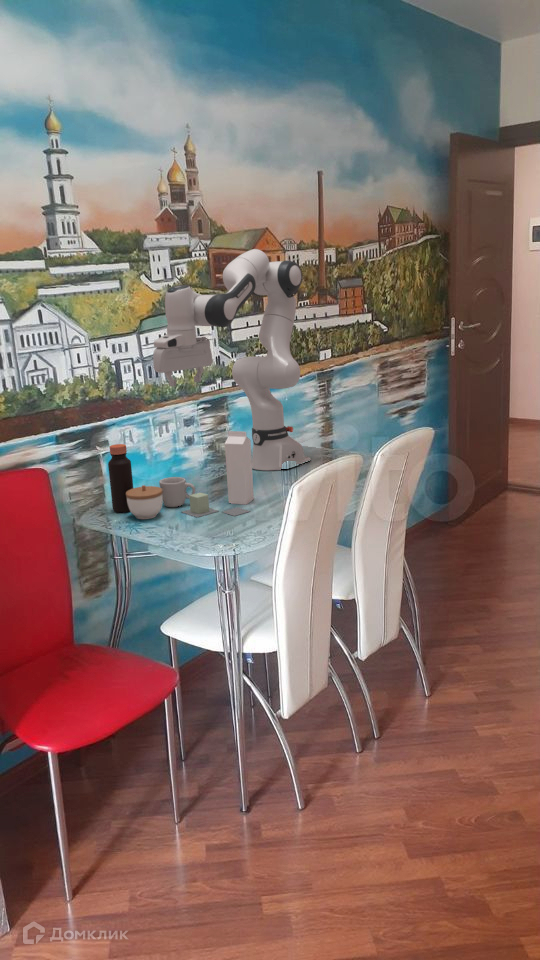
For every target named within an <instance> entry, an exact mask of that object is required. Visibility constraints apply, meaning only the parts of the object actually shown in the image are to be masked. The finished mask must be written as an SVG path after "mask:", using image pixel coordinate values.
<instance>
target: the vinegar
mask: <svg viewBox="0 0 540 960" xmlns="http://www.w3.org/2000/svg"><path fill="white" fill-rule="evenodd" d="M109 453H110V456H111V458H110V459H109V461H108V463H107V465H108V476H109V486H110V494H111V495H110V497H111V505H112V511H113V512H115V513H121V514H122V513H129V512H131V511H130V510H129V507H128V504H127V497H126V492H127V491H128V490H130V489H133V488H134V481H133V472H132V471H133V470H132V462H131V459H129V458H128V457H127V445H126V444H124V443H116V444H112V445H110V446H109Z"/></svg>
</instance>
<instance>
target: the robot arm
mask: <svg viewBox="0 0 540 960" xmlns="http://www.w3.org/2000/svg"><path fill="white" fill-rule="evenodd" d="M302 280H303V272H302V269H301V268H300V266H299V264H298V263H297V262H295V261H293V260H283V261H281V260H280V261H279V260H277V261H270V259H269V257H268V255H267V254H266V253H265V252H264V251H262V250H260V249H257V248H253V249H249V250H247V251H245V252H243V253H241V254H239V255H238V256H237V257H235V258H234V259H233V260H231V261H230V262H229V263H228V264H227V265H226V266H225V267H224V269H223V272H222V282H223V284H224V285H223V286H224V287H225V288H226V289H227V292H226V293H218V294H217V293H216V294H200V293H197V292H196V291H194V290H193V289H191V286H190V285H188V284H179V285H174V286H171V287H168V288H167V289H166V291H165V298H164V309H165V318H166V321H167V327H166V334H164V335H163V336H160V337H158V338H157V339H155V340H153V347H154V348H155V349H154V351H153V358H152V361H153V369H154V371H155V372H156V373H159V374H160V373H161V374H163V373H164V375H165V377H166V378H167V380H168V385H169V386H170V387H176V386H177V380H176V379H174V378H173V374H174V373H173V372H177V371H183V370H184V371H185V370H191V369H195V371H196V375H194V376H193V381H194V383H201V382H202V375H203V372H204V368H205V367H210V366H212V364H213V360H214V359H213V355H212V349H211V341H210V339H209V338H208V337H206V336H201V337H199V336H197V331H196V330H197V329H196V326H197V327H198V326H199V327H218V328H226V327H228V326H229V325H231V324H232V323H233V321H234V319H236V316H237V314H238V312H239V310H240V309H241V308H242V307H243V306H244V304H245V303H246V302H247V301H248V300H249V298H250V297H251V296H255V297H261V296H267V304H266V307H265V309H264V312H263V316H262V319H261V325H260V327H259V328H260V329H259V331H258V332H259V333H258V339H259V342H260V344H261V345H262V346H263V348H265V349H267V354H266V355H265V356H252V355H251V356H245V357H241V358H238V359H236V360H235V361H234V364H233V365H232V369H231V374H232V379H233V381H234V383H235V384H237V385H238V386H239V388H241V389H242V391H243V392H244V393H245V396H246V397H247V400H248V402H249V404H250V405H249V406H250V410H251V417H252V428H251V437H252V444H253V446H252V455H251V458H252V470H257V471H282V470H281V468H282V464H283V463H284V462H286V461H296V462H297V463H296V464H301V463H303V462H306V461H309V460H311V461H312V459H311V457H310V456H306V455H305V451H304V447H303V445H302V444H301V443H300V442H298V441H297V440H295V439H294V438H292V437H291V436H290V435H289V433H293V432H294V428H293V426H289V425H288V426H286V425H285V418H284V406H283V403H282V402H281V401H280V400H279V399H277V398H276V397H275V396H274V395H273V394H272V392H271V389H274V390H275V389H276V390H284V389H289V388H293V387H296V385H297V384H298V383H299V380H300V378H301V369H300V367H301V366H300V365H299V363H298V362H297V360H295V359H294V358H293V355H292V353H291V346H290V343H291V338H292V332H293V328H294V323H295V319H296V314H297V313H296V312H297V311H296V310H297V300H296V298H295V296H296V295H297V293H298V292H299V288H300V287H301V284H302ZM288 432H289V433H288Z"/></svg>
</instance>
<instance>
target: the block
mask: <svg viewBox="0 0 540 960" xmlns="http://www.w3.org/2000/svg"><path fill="white" fill-rule="evenodd" d="M188 495H189V498H188V499H189V506H190V507H189V509H190V511H191V512H194V513H197V514H201V513H204V512H208V511H209V508H210V501H209V494H207V493H203V492H197V493H196V492H195V494H193V495H191V494H188Z"/></svg>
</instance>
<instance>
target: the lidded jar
mask: <svg viewBox="0 0 540 960" xmlns="http://www.w3.org/2000/svg"><path fill="white" fill-rule="evenodd" d="M162 493H163V490H162V489H161V488H160V486H155V485H153V486H152V485H149V486H146V485H145V484H144V485H141V486H138V487H133V489H130V490H128V491H127V492H126V497H127V504H128V507H129V510H130V512H131V513H130V514H132V515H133V516H135V518H136V519H138V520H149V519H154V518H156V517H158V514H159V513H160V511H161V510H162V507H163V504H164V503H163V495H162Z"/></svg>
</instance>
